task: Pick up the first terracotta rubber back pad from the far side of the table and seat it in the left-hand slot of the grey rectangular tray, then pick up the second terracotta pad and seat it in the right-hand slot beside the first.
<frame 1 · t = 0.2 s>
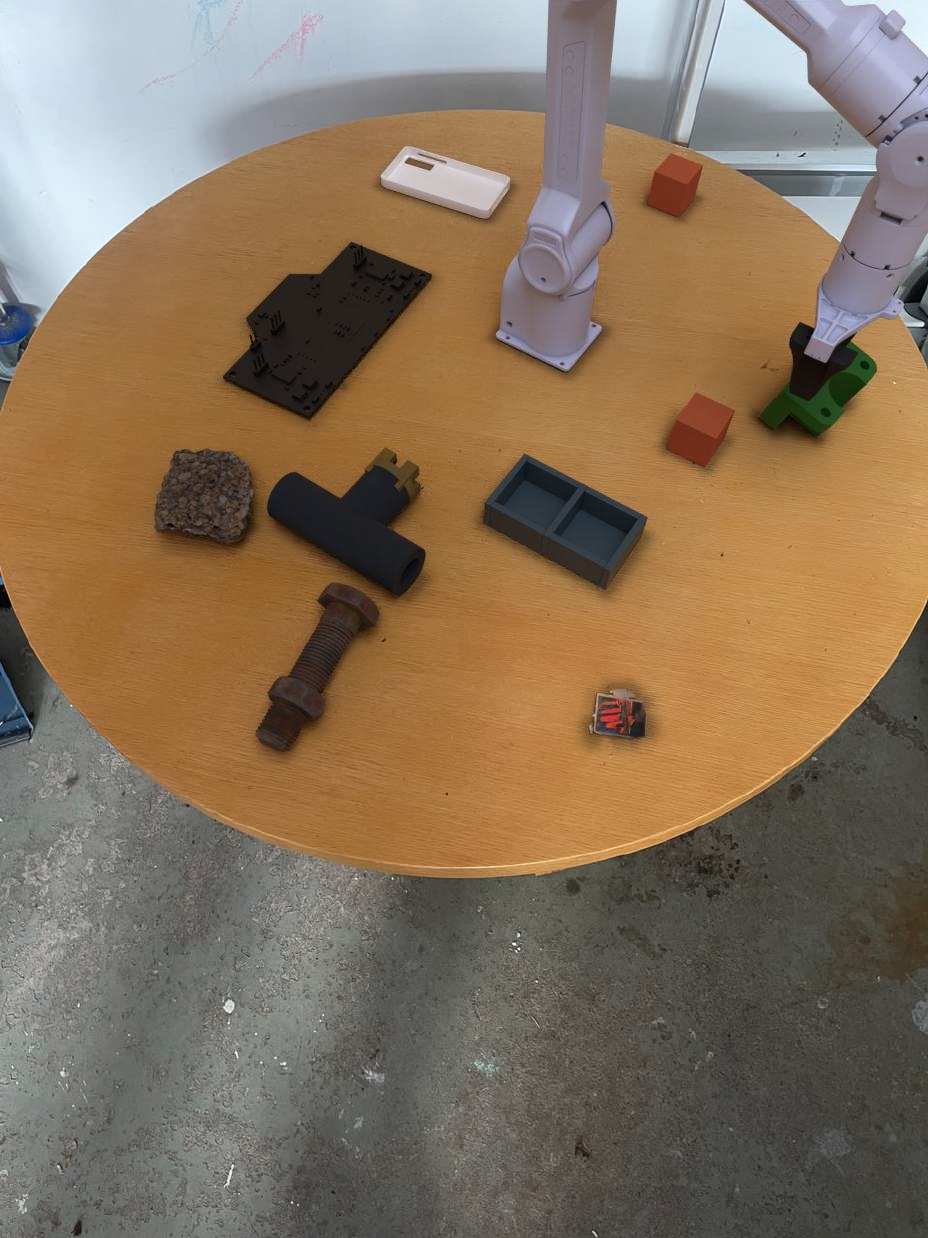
hand: (816, 369, 82), 10 cm above the table, tool pointing down, fingers open, 7 cm apart
pad b: (695, 444, 90), on the table
bolt: (316, 680, 77), on the table
pad a: (670, 201, 109), on the table
grey rectangular tray: (562, 530, 85), on the table
pipe connector: (369, 525, 85), on the table
concrete sample: (214, 509, 86), on the table
clamp: (808, 411, 92), on the table
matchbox: (618, 715, 75), on the table
circuit board: (321, 325, 98), on the table
phone case: (445, 187, 110), on the table
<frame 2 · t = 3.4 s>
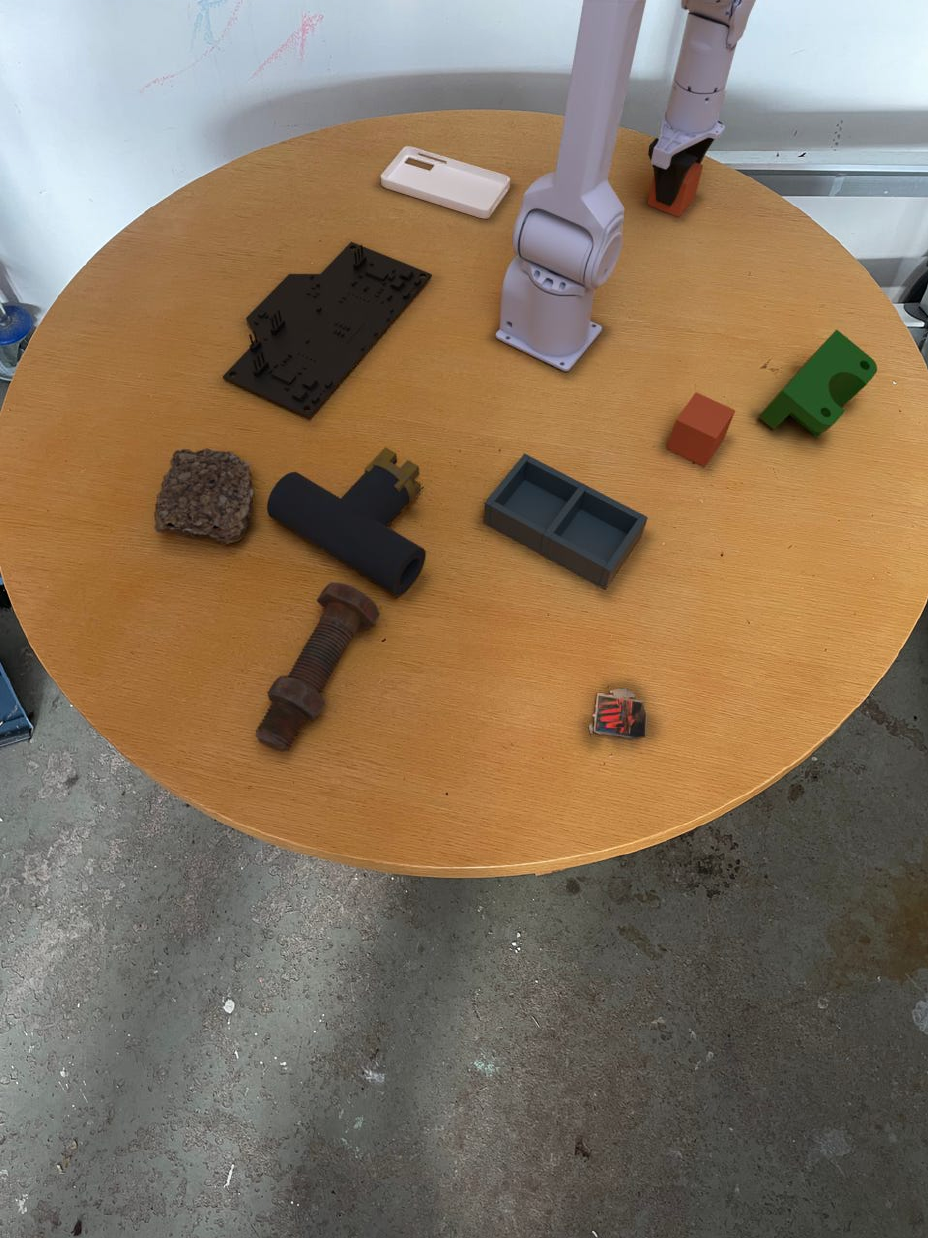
hand: (673, 191, 107), 1 cm above the table, tool pointing down, fingers closed on pad a, 4 cm apart
pad a: (670, 201, 109), on the table, touching gripper
everything else where it was.
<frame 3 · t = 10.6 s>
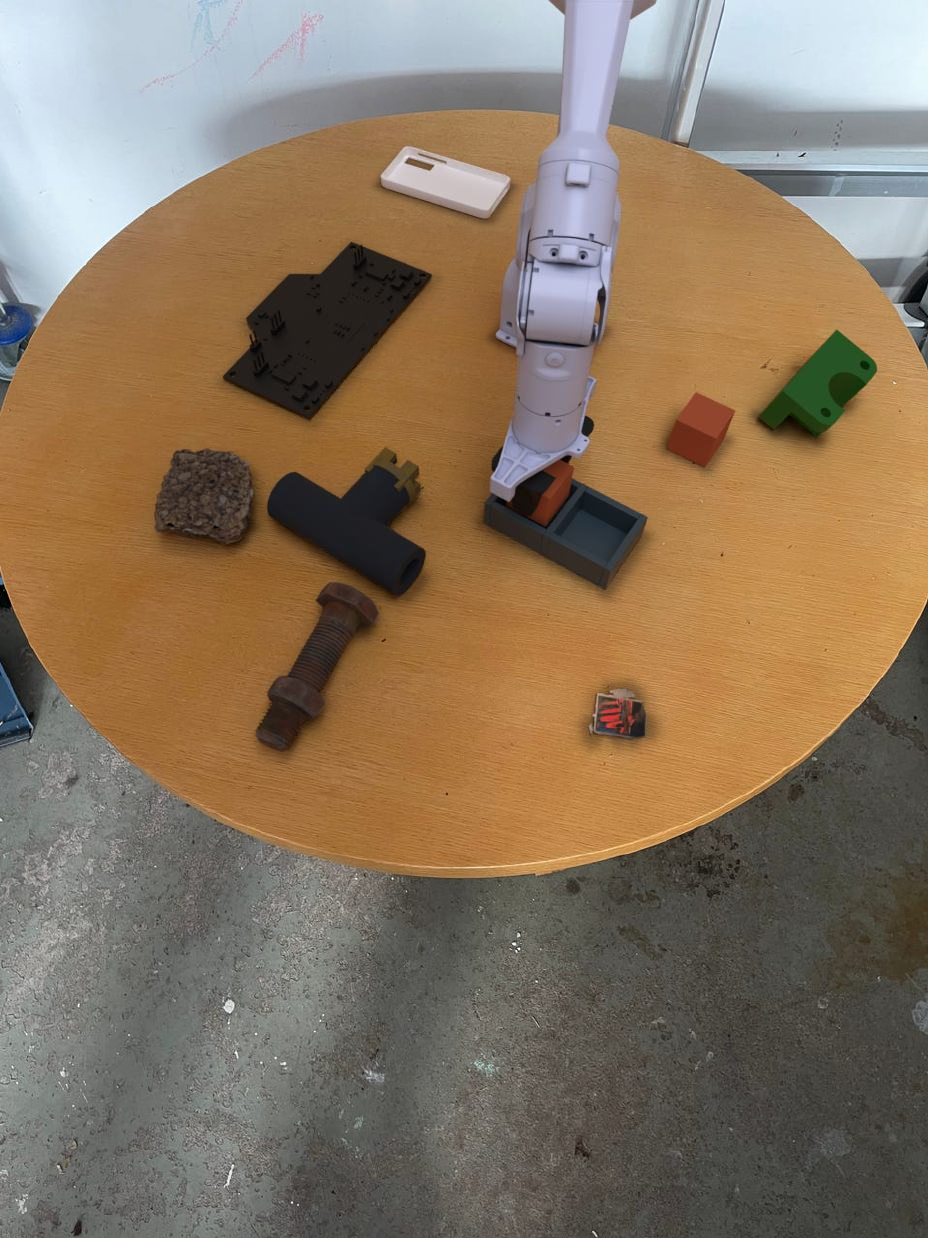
hand: (536, 491, 82), 4 cm above the table, tool pointing down, fingers closed on pad a, 4 cm apart
pad a: (537, 501, 83), point 2 cm above the table, touching gripper
everything else where it was.
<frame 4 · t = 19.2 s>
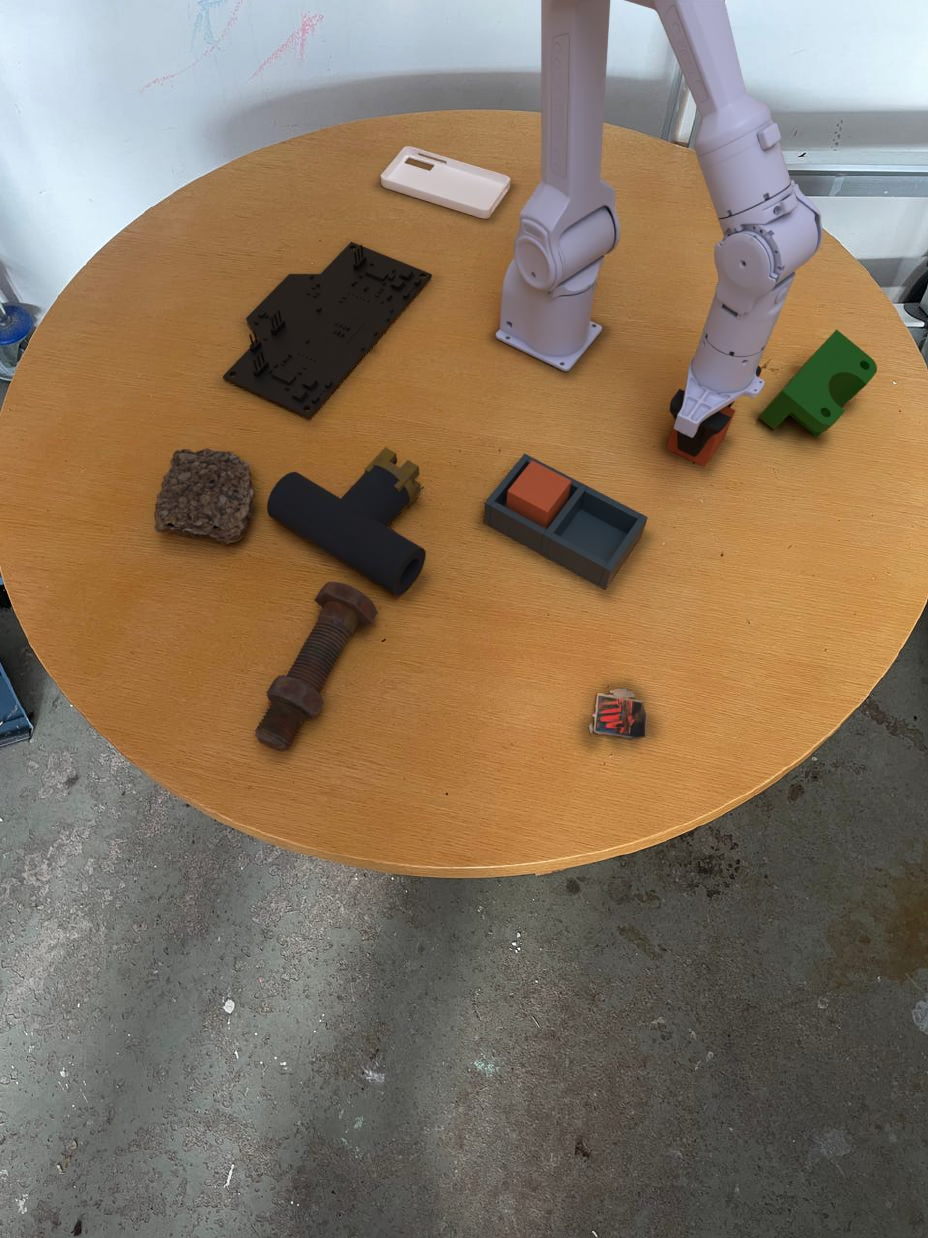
hand: (698, 435, 89), 1 cm above the table, tool pointing down, fingers closed on pad b, 4 cm apart
pad b: (695, 444, 90), on the table, touching gripper
pad a: (535, 513, 85), resting on grey rectangular tray
everything else where it was.
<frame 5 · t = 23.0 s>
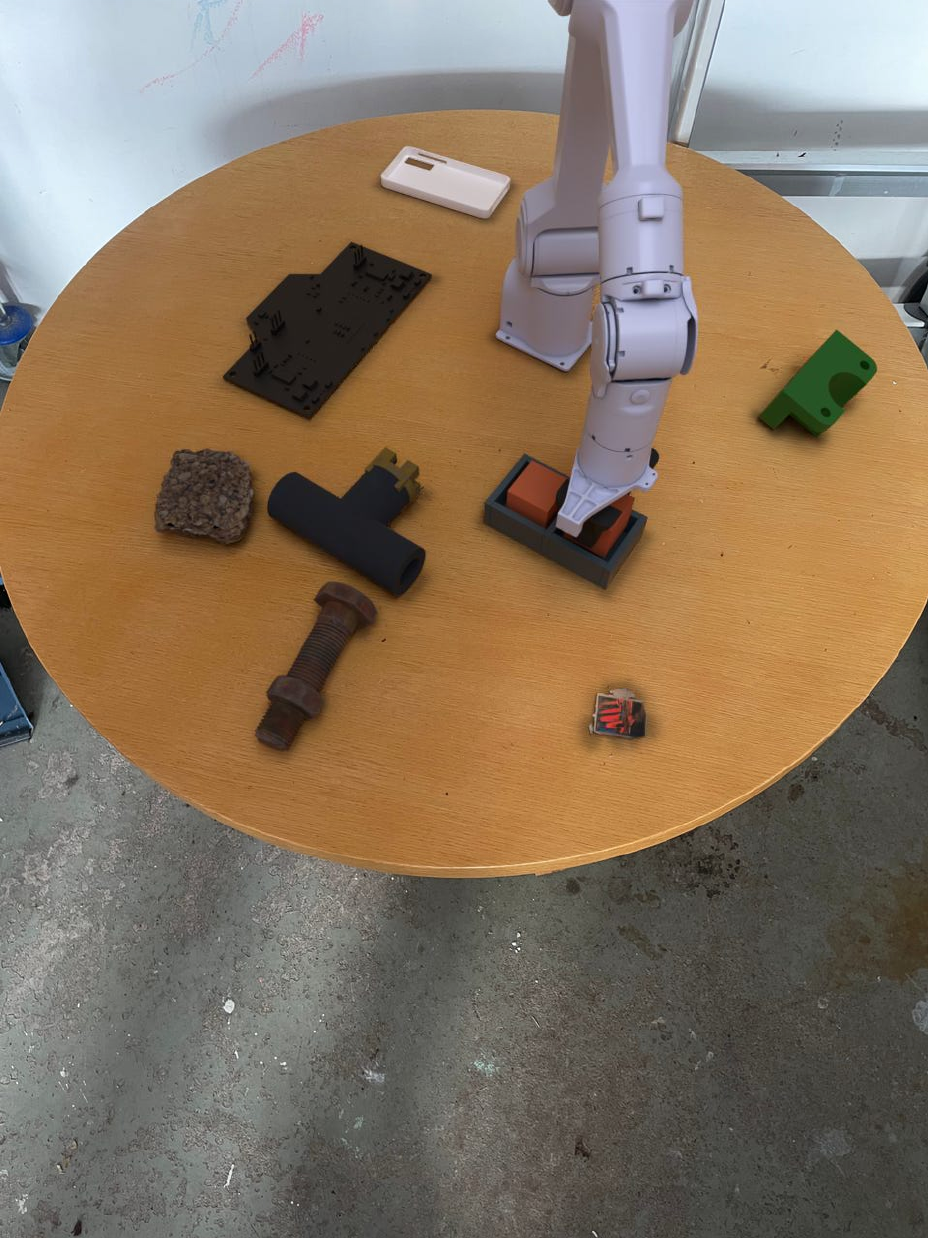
hand: (596, 522, 80), 4 cm above the table, tool pointing down, fingers closed on pad b, 4 cm apart
pad b: (595, 531, 82), point 2 cm above the table, touching gripper
everything else where it was.
when the fingers open (4 cm above the table, at t = 29.0 s): pad b drops 2 cm, resting on grey rectangular tray.
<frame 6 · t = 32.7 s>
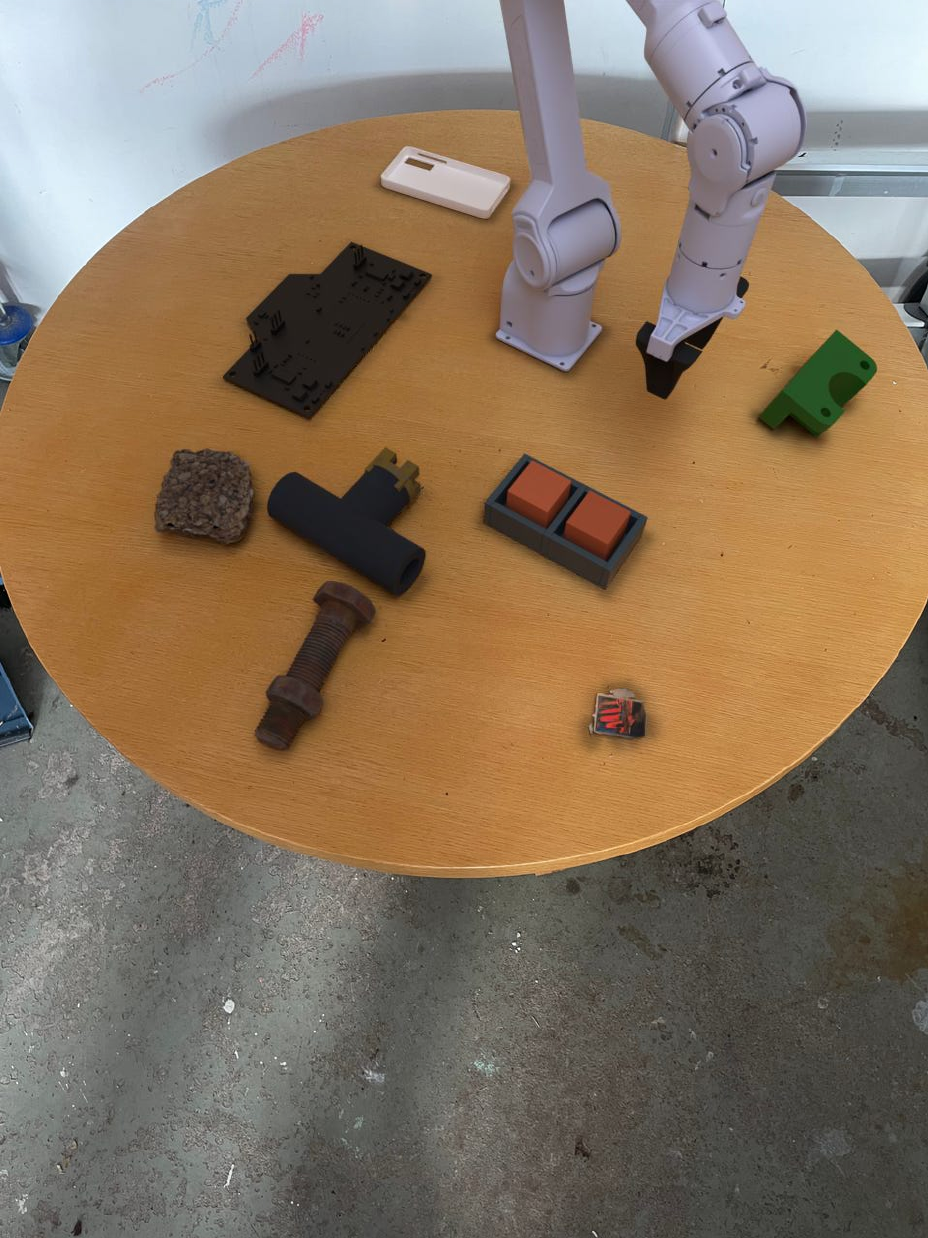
hand: (676, 368, 82), 9 cm above the table, tool pointing down, fingers open, 7 cm apart
pad b: (592, 543, 83), resting on grey rectangular tray
everything else where it was.
at the end: pad a 0.2 cm from the target spot in the grey rectangular tray, point 0.4 cm above the grey rectangular tray's base; pad b 0.0 cm from the target spot in the grey rectangular tray, point 0.4 cm above the grey rectangular tray's base; pad b tilted 0° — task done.
